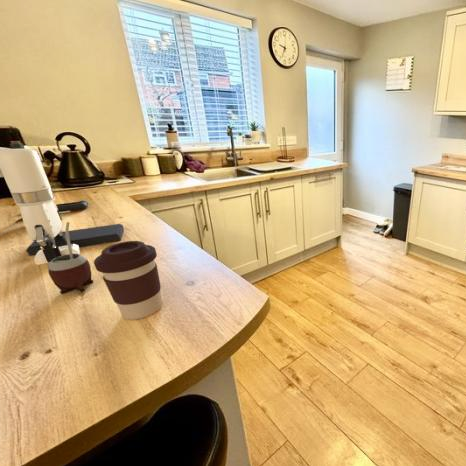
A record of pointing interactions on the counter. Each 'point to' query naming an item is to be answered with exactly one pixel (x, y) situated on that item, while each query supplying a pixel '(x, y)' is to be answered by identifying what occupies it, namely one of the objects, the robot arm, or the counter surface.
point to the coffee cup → (131, 278)
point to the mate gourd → (70, 270)
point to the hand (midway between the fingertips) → (58, 255)
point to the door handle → (71, 206)
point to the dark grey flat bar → (87, 237)
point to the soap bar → (63, 249)
